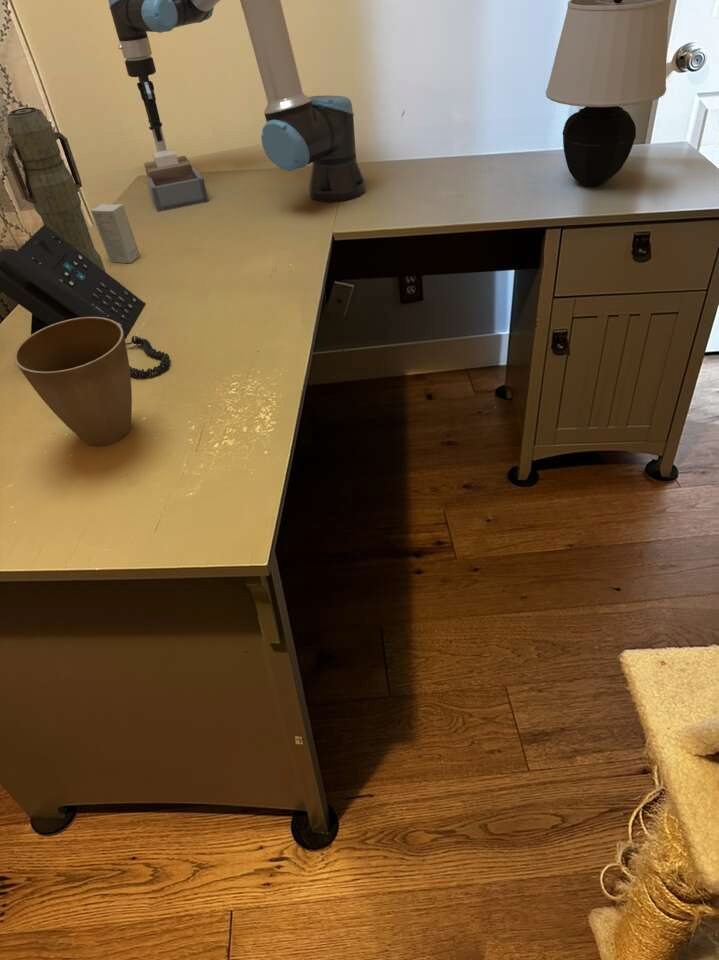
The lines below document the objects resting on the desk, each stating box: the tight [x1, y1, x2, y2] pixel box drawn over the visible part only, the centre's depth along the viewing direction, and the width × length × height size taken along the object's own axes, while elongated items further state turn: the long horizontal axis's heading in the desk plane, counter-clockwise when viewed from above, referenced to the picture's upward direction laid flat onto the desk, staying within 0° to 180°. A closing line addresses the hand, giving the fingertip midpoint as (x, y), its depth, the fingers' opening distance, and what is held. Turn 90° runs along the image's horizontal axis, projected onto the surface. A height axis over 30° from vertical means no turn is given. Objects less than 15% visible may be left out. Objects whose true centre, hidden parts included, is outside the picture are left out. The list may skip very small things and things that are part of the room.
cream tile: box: [151, 148, 179, 167], centre depth 188 cm, size 6×6×2 cm
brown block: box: [143, 155, 194, 187], centre depth 190 cm, size 10×12×7 cm
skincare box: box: [90, 203, 141, 264], centre depth 151 cm, size 6×4×12 cm
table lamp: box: [545, 0, 670, 187], centre depth 156 cm, size 27×27×40 cm
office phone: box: [0, 224, 172, 379], centre depth 119 cm, size 29×28×20 cm
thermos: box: [4, 106, 107, 273], centre depth 133 cm, size 9×12×35 cm
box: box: [146, 167, 209, 212], centre depth 182 cm, size 11×14×6 cm
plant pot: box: [13, 317, 133, 447], centre depth 98 cm, size 15×15×16 cm
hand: (162, 152), depth 192 cm, fingers closed
